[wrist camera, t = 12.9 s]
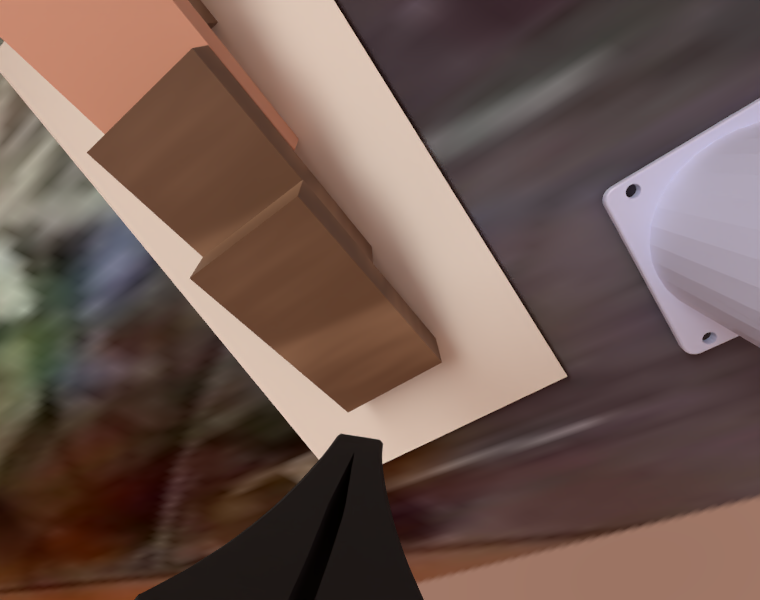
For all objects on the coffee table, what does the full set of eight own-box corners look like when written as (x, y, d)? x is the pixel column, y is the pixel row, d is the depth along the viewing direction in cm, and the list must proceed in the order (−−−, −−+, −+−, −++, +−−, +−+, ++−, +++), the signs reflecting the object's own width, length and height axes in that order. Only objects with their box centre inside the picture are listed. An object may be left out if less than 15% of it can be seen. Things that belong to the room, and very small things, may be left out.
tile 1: (348, 386, 20) (203, 256, 16) (435, 338, 19) (303, 179, 14) (348, 412, 19) (189, 278, 14) (441, 362, 17) (298, 196, 13)
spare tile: (211, 208, 18) (-4, 0, 13) (298, 138, 16) (91, -122, 12) (201, 224, 17) (-41, -1, 12) (294, 150, 15) (60, -138, 11)
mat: (208, -202, 14) (203, -210, 13) (565, 373, 19) (567, 376, 18) (-3, 61, 17) (-11, 59, 17) (340, 480, 22) (339, 484, 22)
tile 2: (284, 304, 19) (110, 140, 15) (371, 246, 18) (207, 45, 13) (279, 325, 18) (86, 152, 13) (373, 265, 16) (191, 48, 12)
